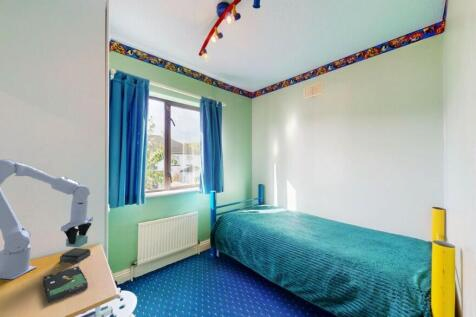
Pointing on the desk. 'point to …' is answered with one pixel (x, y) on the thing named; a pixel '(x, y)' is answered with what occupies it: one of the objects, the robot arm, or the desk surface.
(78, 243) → the block
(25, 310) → the desk surface
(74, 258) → the stand
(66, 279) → the disk drive
